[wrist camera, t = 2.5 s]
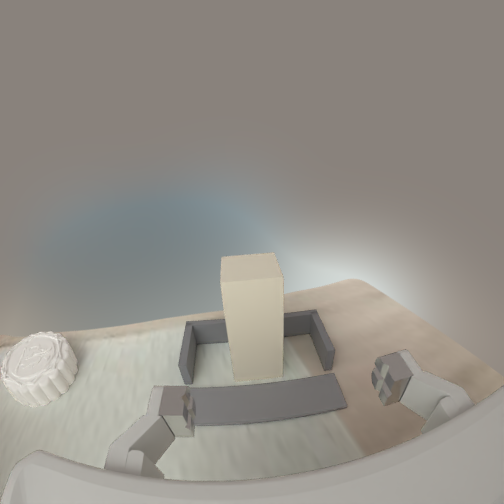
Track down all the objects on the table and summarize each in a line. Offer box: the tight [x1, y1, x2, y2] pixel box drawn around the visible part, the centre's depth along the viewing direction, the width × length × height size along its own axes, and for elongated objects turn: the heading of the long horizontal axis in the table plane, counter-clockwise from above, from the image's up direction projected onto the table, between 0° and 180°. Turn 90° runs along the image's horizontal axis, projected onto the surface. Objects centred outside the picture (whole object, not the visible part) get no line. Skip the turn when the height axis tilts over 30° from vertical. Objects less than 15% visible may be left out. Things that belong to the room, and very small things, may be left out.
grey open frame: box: [178, 310, 347, 426], centre depth 26 cm, size 16×13×3 cm
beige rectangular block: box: [220, 252, 284, 382], centre depth 26 cm, size 5×5×12 cm
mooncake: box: [1, 331, 78, 407], centre depth 24 cm, size 12×12×4 cm
